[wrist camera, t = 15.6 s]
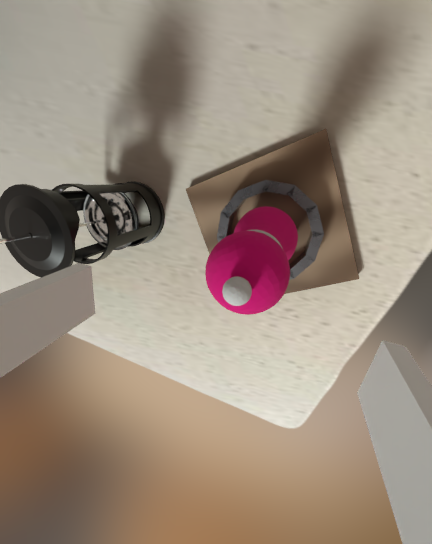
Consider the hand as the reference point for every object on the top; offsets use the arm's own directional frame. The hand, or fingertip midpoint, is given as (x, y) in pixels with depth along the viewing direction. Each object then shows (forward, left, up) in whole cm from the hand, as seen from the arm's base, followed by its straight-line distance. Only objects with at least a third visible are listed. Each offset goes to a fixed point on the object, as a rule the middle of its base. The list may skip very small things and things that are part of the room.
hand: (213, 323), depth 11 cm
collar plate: (0, 0, -25) cm, 25 cm away
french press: (-9, -19, -25) cm, 32 cm away
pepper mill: (0, 0, -23) cm, 23 cm away
